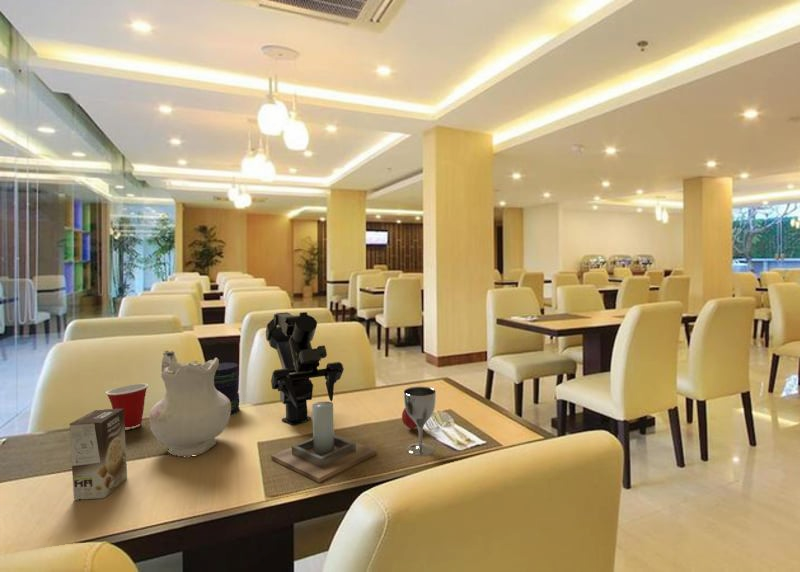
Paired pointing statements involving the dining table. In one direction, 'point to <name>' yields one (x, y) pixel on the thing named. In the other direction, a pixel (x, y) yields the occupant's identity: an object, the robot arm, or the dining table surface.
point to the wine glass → (420, 414)
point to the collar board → (323, 458)
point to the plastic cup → (129, 402)
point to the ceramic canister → (323, 428)
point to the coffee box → (98, 453)
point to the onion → (408, 420)
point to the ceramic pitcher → (189, 407)
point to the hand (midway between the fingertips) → (314, 403)
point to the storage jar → (228, 383)
